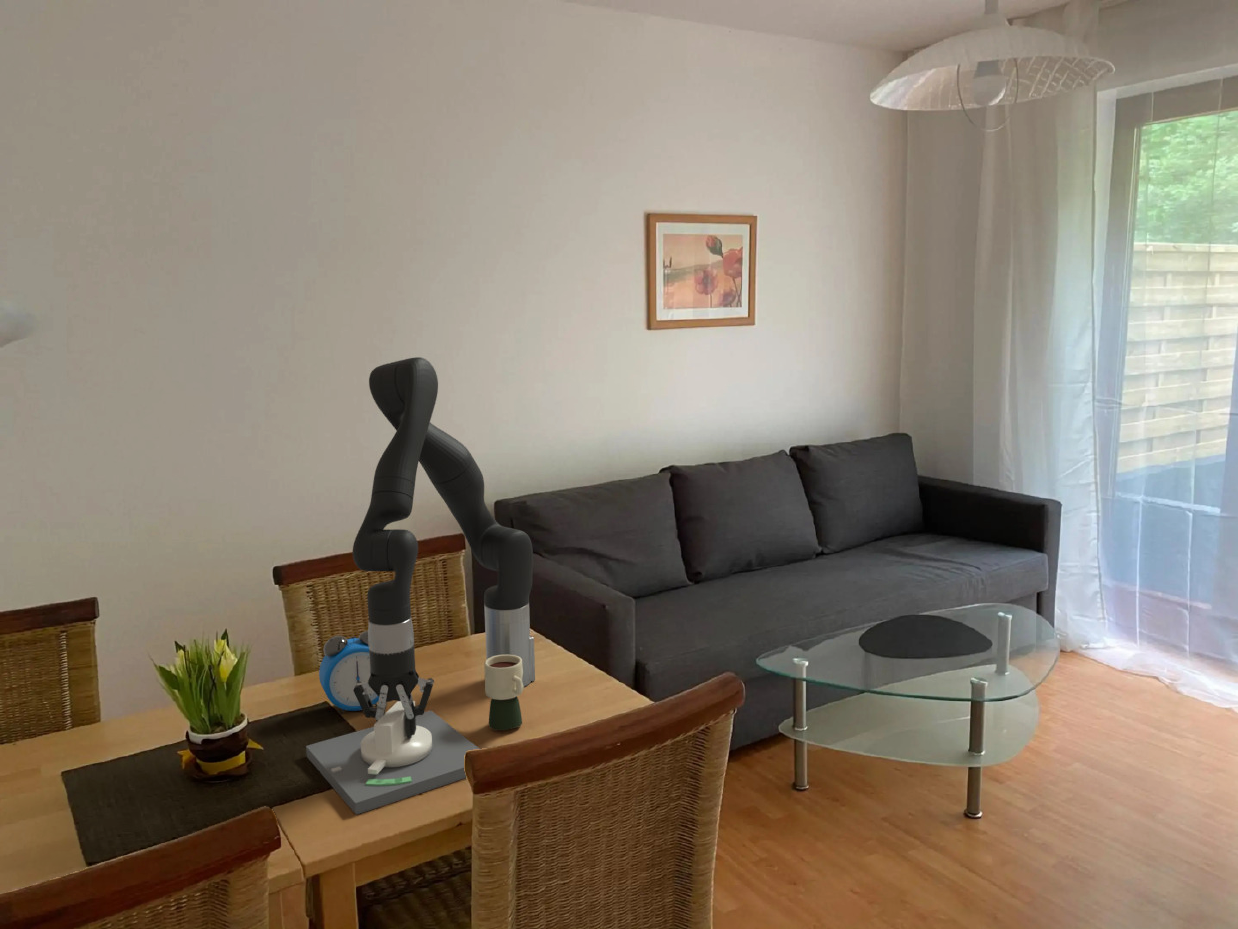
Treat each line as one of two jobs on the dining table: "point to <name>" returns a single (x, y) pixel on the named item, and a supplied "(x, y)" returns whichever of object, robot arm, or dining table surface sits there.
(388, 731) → the dial
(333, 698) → the alarm clock
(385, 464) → the robot arm
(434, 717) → the dial board
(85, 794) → the dining table surface
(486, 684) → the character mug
